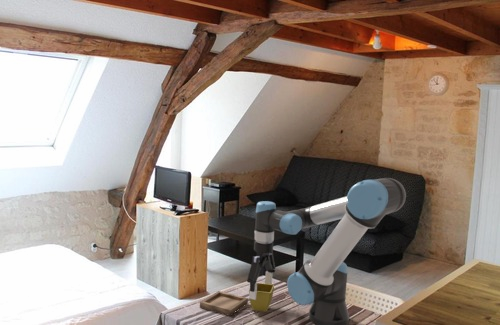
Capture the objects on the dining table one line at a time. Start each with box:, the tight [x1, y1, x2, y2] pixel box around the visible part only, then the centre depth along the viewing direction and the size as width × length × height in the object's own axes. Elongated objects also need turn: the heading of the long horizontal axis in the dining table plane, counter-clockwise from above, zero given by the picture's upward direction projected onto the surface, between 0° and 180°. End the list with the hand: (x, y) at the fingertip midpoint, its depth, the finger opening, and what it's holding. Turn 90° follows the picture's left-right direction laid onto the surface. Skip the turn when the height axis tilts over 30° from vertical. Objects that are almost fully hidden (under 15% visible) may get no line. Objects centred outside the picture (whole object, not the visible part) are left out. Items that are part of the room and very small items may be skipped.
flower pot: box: [248, 282, 275, 313], centre depth 185 cm, size 9×9×9 cm
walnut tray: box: [199, 290, 249, 316], centre depth 187 cm, size 14×14×2 cm
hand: (260, 293), depth 185 cm, fingers open, 13 cm apart
